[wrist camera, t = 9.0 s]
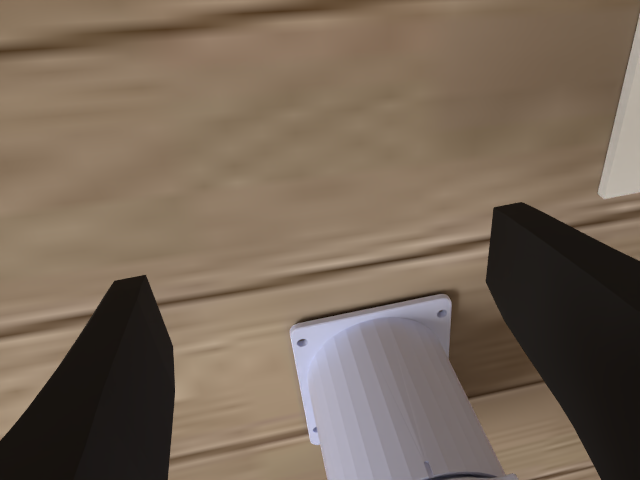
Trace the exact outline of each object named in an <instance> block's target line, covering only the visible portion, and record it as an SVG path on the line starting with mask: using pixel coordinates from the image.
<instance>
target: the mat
mask: <svg viewBox="0 0 640 480" xmlns="http://www.w3.org/2000/svg"><path fill="white" fill-rule="evenodd" d="M639 192H640V15H639V19H638V24H637V28H636V32H635V36H634V41H633V45H632V49H631V54H630V58H629V62H628V66H627V71H626V75H625V79H624V83H623V88H622V92H621V96H620V100H619V105H618V109H617V113H616V118H615V122H614V126H613V130H612V135H611V139H610V143H609V147H608V152H607V156H606V160H605V164H604V169H603V173H602V177H601V181H600V186H599V190H598V194H599V195H600V196H601V197H602V198H603V199H608V198H613V197H618V196H623V195H628V194H633V193H639Z"/></svg>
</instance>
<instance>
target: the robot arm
mask: <svg viewBox="0 0 640 480" xmlns="http://www.w3.org/2000/svg"><path fill="white" fill-rule="evenodd" d="M486 283H487V285H488V288H489V290H490V292H491V294H492V296H493V298H494V301H495V303H496V305H497V307H498V309H499V311H500V313H501V315H502V317H503V319H504V321H505V322H506V324H507V326H508V327H509V329H510V330H511V332H512V333H513V335H514V336H515V338H516V339H517V341H518V342H519V344H520V346H521V347H522V349H523V350H524V352H525V353H526V355H527V356H528V358H529V359H530V361H531V362H532V364H533V365H534V366H535V368H536V369H537V371H538V372H539V374H540V375H541V377H542V378H543V380H544V381H545V383H546V384H547V386H548V387H549V389H550V390H551V392H552V393H553V395H554V396H555V398H556V399H557V401H558V402H559V404H560V405H561V407H562V408H563V410H564V412H565V413H566V415H567V417H568V418H569V420H570V422H571V423H572V425H573V427H574V428H575V430H576V432H577V434H578V436H579V438H580V440H581V442H582V444H583V445H584V447H585V449H586V451H587V453H588V455H589V457H590V459H591V461H592V462H593V464H594V466H595V468H596V470H597V472H598V474H599V476H600V478H601V480H640V261H638V260H636V259H634V258H632V257H630V256H628V255H626V254H624V253H621V252H619V251H617V250H615V249H613V248H611V247H609V246H607V245H605V244H603V243H601V242H599V241H597V240H595V239H594V238H592V237H590V236H588V235H586V234H584V233H582V232H580V231H578V230H576V229H574V228H572V227H570V226H569V225H567V224H565V223H563V222H561V221H559V220H557V219H555V218H553V217H551V216H549V215H547V214H545V213H543V212H541V211H539V210H538V209H535V208H533V207H531V206H529V205H527V204H525V203H522V202H520V203H514V204H509V205H504V206H499V207H494V209H493V219H492V228H491V238H490V247H489V256H488V266H487V275H486ZM451 309H452V302H451V300H450V298H449V296H448V295H446V294H438V295H433V296H428V297H423V298H418V299H414V300H409V301H404V302H399V303H394V304H389V305H384V306H379V307H375V308H370V309H365V310H360V311H355V312H350V313H345V314H341V315H336V316H331V317H326V318H321V319H316V320H311V321H307V322H302V323H298V324H295V325H293V326H292V327H291V329H290V337H291V342H292V347H293V353H294V358H295V363H296V368H297V374H298V379H299V384H300V389H301V395H302V400H303V405H304V410H305V416H306V421H307V426H308V431H309V437H310V441H311V443H312V444H314V445H320V446H321V451H322V455H323V460H324V465H325V470H326V474H327V479H328V480H518V478H517V476H516V474H513V473H512V474H508V475H506V474H505V472H504V470H503V468H502V466H501V464H500V462H499V460H498V458H497V456H496V454H495V452H494V450H493V448H492V446H491V444H490V442H489V440H488V438H487V436H486V434H485V432H484V430H483V428H482V426H481V424H480V422H479V420H478V418H477V416H476V414H475V412H474V410H473V408H472V406H471V404H470V402H469V400H468V398H467V396H466V394H465V392H464V390H463V388H462V386H461V383H460V381H459V379H458V377H457V375H456V373H455V371H454V369H453V367H452V365H451V363H450V361H449V344H450V327H451ZM440 310H442V311H441V312H439V311H440ZM301 339H305V340H302V341H299V340H301ZM174 398H175V379H174V357H173V345H172V342H171V340H170V337H169V334H168V332H167V329H166V327H165V324H164V321H163V319H162V316H161V313H160V311H159V308H158V306H157V303H156V300H155V298H154V295H153V292H152V290H151V287H150V285H149V282H148V279H147V277H146V275H142V276H137V277H132V278H127V279H122V280H116V281H114V282H113V284H112V285H111V287H110V288H109V290H108V291H107V293H106V294H105V296H104V297H103V299H102V301H101V302H100V304H99V305H98V307H97V309H96V310H95V312H94V313H93V315H92V317H91V318H90V320H89V321H88V323H87V324H86V326H85V328H84V329H83V331H82V332H81V334H80V335H79V337H78V338H77V340H76V341H75V343H74V344H73V346H72V347H71V349H70V350H69V352H68V353H67V355H66V356H65V358H64V359H63V361H62V362H61V364H60V365H59V367H58V368H57V369H56V371H55V372H54V374H53V375H52V376H51V378H50V379H49V380H48V382H47V383H46V384H45V386H44V387H43V388H42V390H41V391H40V392H39V394H38V395H37V396H36V398H35V399H34V400H33V402H32V403H31V404H30V406H29V407H28V408H27V410H26V411H25V412H24V413H23V415H22V416H21V417H20V418H19V420H18V421H17V422H16V423H15V425H14V426H13V427H12V428H11V429H10V430H9V432H8V433H7V434H6V435H5V436H4V437H3V438H2V440H1V441H0V480H168V469H169V458H170V446H171V435H172V423H173V411H174Z"/></svg>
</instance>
